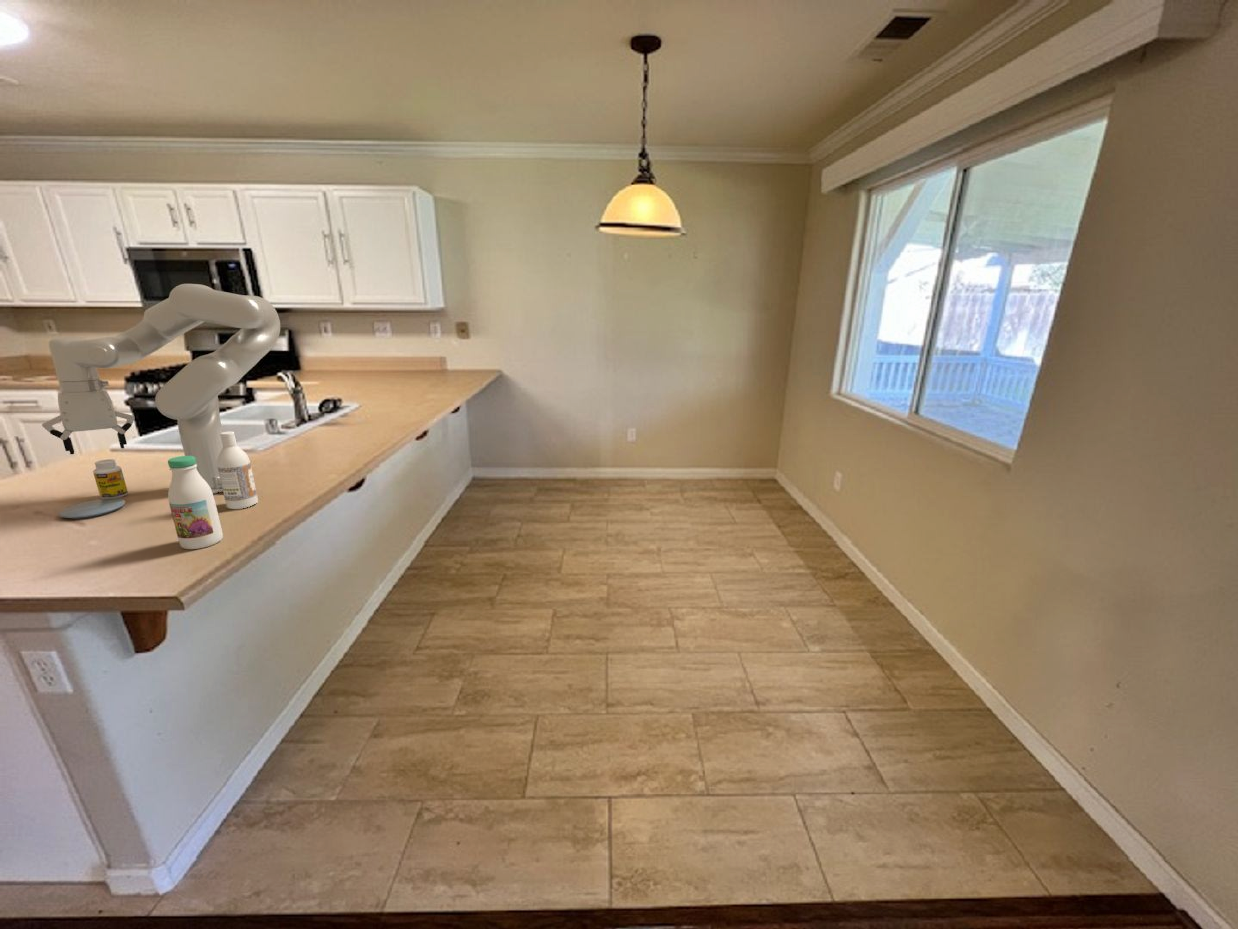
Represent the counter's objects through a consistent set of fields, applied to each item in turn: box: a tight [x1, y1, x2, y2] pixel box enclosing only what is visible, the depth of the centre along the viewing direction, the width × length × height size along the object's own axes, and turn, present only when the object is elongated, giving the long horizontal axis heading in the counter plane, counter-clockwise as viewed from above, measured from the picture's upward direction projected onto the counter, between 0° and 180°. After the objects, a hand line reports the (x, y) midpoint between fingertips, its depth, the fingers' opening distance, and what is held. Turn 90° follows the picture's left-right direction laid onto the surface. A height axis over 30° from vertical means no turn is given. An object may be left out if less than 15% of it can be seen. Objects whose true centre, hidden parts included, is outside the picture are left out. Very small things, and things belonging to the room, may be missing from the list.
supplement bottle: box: [92, 458, 129, 499], centre depth 141 cm, size 6×6×10 cm
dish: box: [58, 498, 126, 520], centre depth 132 cm, size 12×12×1 cm
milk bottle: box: [167, 455, 224, 550], centre depth 113 cm, size 8×8×20 cm
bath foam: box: [217, 430, 259, 510], centre depth 135 cm, size 7×7×20 cm
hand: (98, 450), depth 138 cm, fingers open, 9 cm apart
